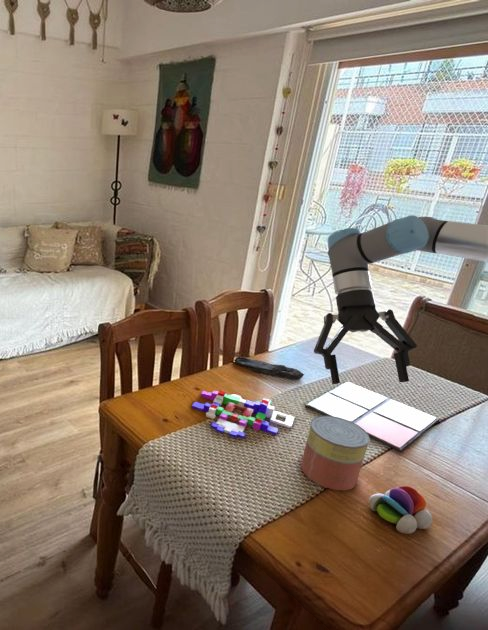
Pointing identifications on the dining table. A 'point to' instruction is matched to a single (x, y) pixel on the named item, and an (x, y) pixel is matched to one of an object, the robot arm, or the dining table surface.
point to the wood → (268, 368)
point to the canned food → (334, 452)
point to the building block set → (245, 419)
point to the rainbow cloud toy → (402, 509)
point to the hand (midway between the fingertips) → (369, 382)
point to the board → (375, 414)
